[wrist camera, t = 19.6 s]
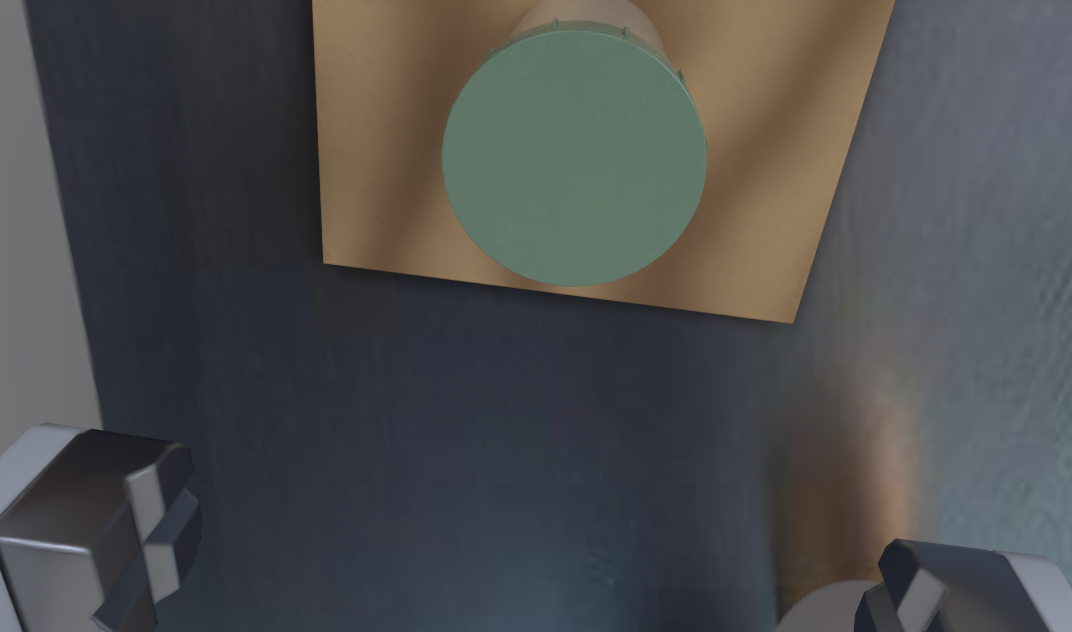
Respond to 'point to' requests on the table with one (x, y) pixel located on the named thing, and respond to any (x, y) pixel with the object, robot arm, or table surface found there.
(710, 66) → the cork board
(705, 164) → the lid
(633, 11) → the jar
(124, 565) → the robot arm
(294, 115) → the table surface
